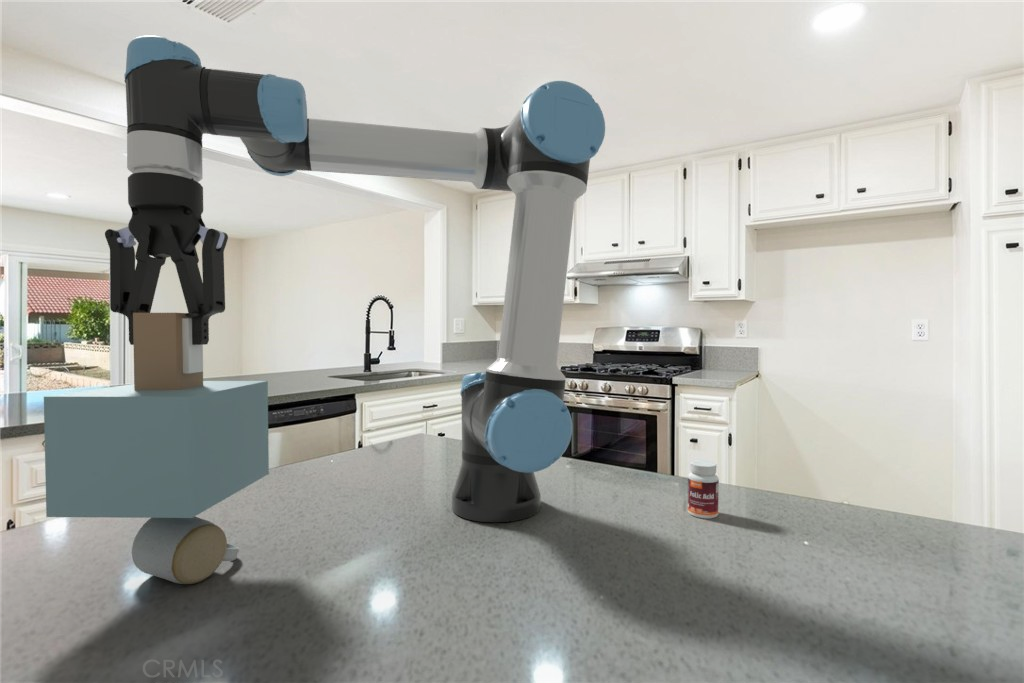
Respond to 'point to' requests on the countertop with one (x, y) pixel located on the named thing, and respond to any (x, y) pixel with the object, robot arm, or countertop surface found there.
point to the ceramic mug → (181, 549)
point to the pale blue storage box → (154, 436)
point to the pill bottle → (703, 489)
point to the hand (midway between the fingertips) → (169, 372)
